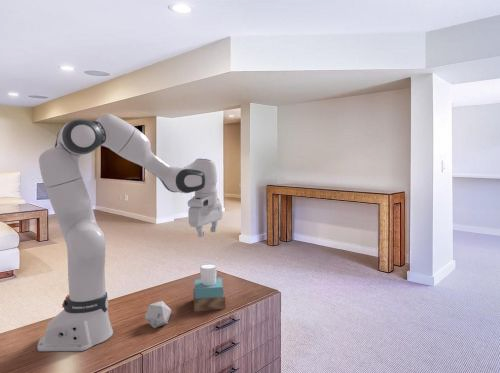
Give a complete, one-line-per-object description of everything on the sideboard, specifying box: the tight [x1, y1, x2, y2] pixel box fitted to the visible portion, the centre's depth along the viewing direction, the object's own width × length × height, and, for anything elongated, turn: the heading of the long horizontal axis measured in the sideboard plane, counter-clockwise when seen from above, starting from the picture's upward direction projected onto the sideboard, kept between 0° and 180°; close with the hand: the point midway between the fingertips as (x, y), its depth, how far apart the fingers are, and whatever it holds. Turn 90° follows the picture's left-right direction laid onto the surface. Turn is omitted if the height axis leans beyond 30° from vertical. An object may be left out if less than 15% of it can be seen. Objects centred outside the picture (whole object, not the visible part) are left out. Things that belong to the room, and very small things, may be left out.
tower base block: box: [193, 288, 226, 312], centre depth 146 cm, size 12×12×5 cm
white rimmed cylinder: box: [199, 263, 218, 286], centre depth 145 cm, size 7×7×7 cm
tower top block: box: [193, 277, 224, 299], centre depth 146 cm, size 11×11×4 cm
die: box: [144, 300, 172, 329], centre depth 129 cm, size 8×9×10 cm
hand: (207, 234), depth 144 cm, fingers open, 8 cm apart
